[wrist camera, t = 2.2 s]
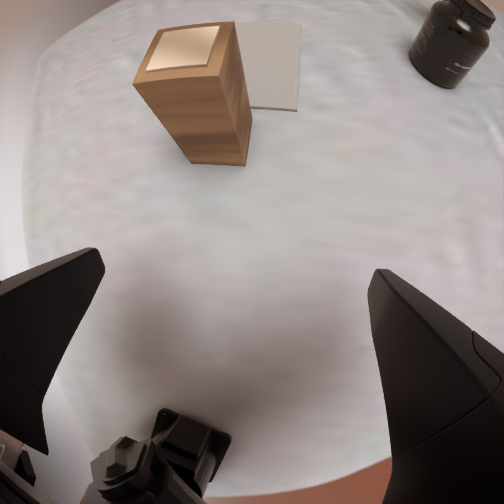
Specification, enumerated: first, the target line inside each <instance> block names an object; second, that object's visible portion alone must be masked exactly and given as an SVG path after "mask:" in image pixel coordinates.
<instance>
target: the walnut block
mask: <svg viewBox="0 0 504 504" xmlns="http://www.w3.org/2000/svg"><path fill="white" fill-rule="evenodd" d="M132 84H133V86H134V87H135V88H136V90H137V91H138V92H139V94H140V95H141V96H142V98H143V99H144V100H145V102H146V103H147V104H148V106H149V107H150V108H151V110H152V111H153V112H154V114H155V115H156V116H157V118H158V119H159V120H160V122H161V123H162V124H163V126H164V127H165V128H166V130H167V131H168V132H169V134H170V135H171V136H172V138H173V139H174V140H175V142H176V143H177V145H178V146H179V147H180V149H181V150H182V151H183V153H184V154H185V155H186V157H187V158H188V159H189V161H190V162H191V163H192V164H215V165H234V166H246V160H247V153H248V146H249V139H250V133H251V126H252V114H251V108H250V103H249V97H248V92H247V86H246V80H245V75H244V70H243V64H242V59H241V54H240V48H239V43H238V38H237V33H236V28H235V23H234V22H216V23H204V24H194V25H186V26H179V27H172V28H166V29H161V30H158V31H157V33H156V35H155V37H154V39H153V41H152V43H151V45H150V46H149V48H148V50H147V52H146V55H145V57H144V59H143V61H142V63H141V65H140V67H139V69H138V72H137V74H136V76H135V78H134V81H133V83H132Z"/></svg>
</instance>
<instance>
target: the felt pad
mask: <svg viewBox="0 0 504 504" xmlns="http://www.w3.org/2000/svg"><path fill="white" fill-rule="evenodd" d="M235 28H236V33H237V38H238V43H239V48H240V54H241V59H242V64H243V70H244V75H245V80H246V86H247V92H248V97H249V103H250V108H259V109H274V110H287V111H297V101H298V84H299V64H300V40H301V25H297V24H284V23H256V22H248V23H235Z"/></svg>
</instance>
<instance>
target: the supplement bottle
mask: <svg viewBox="0 0 504 504" xmlns="http://www.w3.org/2000/svg"><path fill="white" fill-rule="evenodd" d="M495 20H496V17H495V15H494V14H493V12H492V11H491V10H490V9H489V8H488V7H487V6H486V5H485V4H484V3H482V2H481V1H480V0H448V1H438V2H435V3H434V4H433V6H432V7H431V9H430V11H429V13H428V15H427V17H426V19H425V21H424V23H423V25H422V27H421V29H420V31H419V33H418V35H417V37H416V39H415V41H414V43H413V45H412V47H411V50H410V56H411V59H412V62H413V63H414V65H415V66H416V68H417V69H418V70H419V71H420V72H421V73H422V74H423V75H424V76H425V77H426V78H428V79H429V80H431V81H432V82H434V83H435V84H437V85H440V86H442V87H446V88H453V87H455V86H457V85H458V84H459V83H460V82H461V81H462V79H463V78H464V77H465V76H466V75H467V73H468V72H469V71H470V70H471V69H472V67H473V66H474V65H475V64H476V62H477V61H478V60H479V59H480V57H481V56H482V55H483V54H484V52H485V51H486V50H487V48H488V47H489V43H490V41H489V36H488V34H487V32H486V30H490V28H491V25H492V24H493V23H494V21H495Z"/></svg>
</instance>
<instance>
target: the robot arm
mask: <svg viewBox="0 0 504 504" xmlns="http://www.w3.org/2000/svg"><path fill="white" fill-rule="evenodd" d="M104 274H105V265H104V263H103V260H102V258H101V255H100V253H99V251H98V249H96V248H90V247H88V248H85V249H82V250H79V251H76V252H73V253H71V254H68V255H65V256H63V257H60V258H57V259H55V260H52V261H49V262H47V263H44V264H42V265H39V266H36V267H34V268H31V269H29V270H26V271H24V272H21V273H19V274H17V275H14V276H12V277H10V278H7V279H5V280H3V281H0V504H57V503H55V502H54V501H52V500H50V499H49V498H48V497H46V496H45V495H44V494H42V493H41V492H39V491H38V490H37V489H35V488H34V483H35V480H36V476H35V473H34V470H33V467H32V465H31V461H30V458H29V455H28V452H27V451H26V450H25V449H23V448H22V447H23V444H26V445H28V446H29V447H31V448H34V449H35V450H37V451H39V452H41V453H43V454H45V455H48V453H49V451H48V446H47V440H46V434H45V429H44V422H43V415H42V403H43V399H44V396H45V394H46V392H47V390H48V387H49V385H50V383H51V380H52V378H53V376H54V374H55V372H56V369H57V367H58V365H59V363H60V361H61V359H62V357H63V355H64V353H65V351H66V349H67V347H68V345H69V343H70V341H71V339H72V337H73V335H74V333H75V331H76V329H77V327H78V325H79V324H80V322H81V320H82V318H83V316H84V315H85V313H86V311H87V309H88V307H89V305H90V304H91V301H92V299H93V297H94V295H95V293H96V291H97V288H98V286H99V284H100V282H101V280H102V278H103V276H104ZM368 304H369V312H370V321H371V330H372V337H373V342H374V347H375V351H376V356H377V361H378V366H379V371H380V376H381V382H382V387H383V393H384V399H385V406H386V412H387V419H388V427H389V435H390V444H391V453H392V473H391V477H390V481H389V484H388V487H387V490H386V493H385V496H384V499H383V502H382V504H504V353H502V352H501V351H500V350H498V349H497V348H496V347H494V346H493V345H492V344H490V343H489V342H488V341H487V340H485V339H484V338H483V337H481V336H480V335H479V334H478V333H476V332H475V331H472V330H471V329H470V328H469V327H468V326H467V325H465V324H464V323H463V322H461V321H460V320H459V319H457V318H456V317H455V316H453V315H452V314H451V313H449V312H448V311H447V310H445V309H444V308H443V307H441V306H440V305H439V304H437V303H436V302H434V301H433V300H432V299H430V298H429V297H427V296H426V295H425V294H423V293H422V292H420V291H419V290H418V289H416V288H415V287H413V286H412V285H410V284H409V283H408V282H406V281H405V280H403V279H402V278H400V277H399V276H397V275H396V274H394V273H393V272H391V271H390V270H388V269H376V270H375V272H374V274H373V277H372V280H371V283H370V285H369V288H368ZM163 413H165V414H166V416H165V415H163ZM223 439H227V440H228V441H225V440H223ZM230 443H231V437H230V436H229V435H228V434H225V433H222V432H219V431H217V430H214V429H212V428H210V427H208V426H206V425H203V424H201V423H198V422H196V421H194V420H191V419H189V418H187V417H184V416H181V415H178V414H176V413H174V412H172V411H170V410H168V409H165V408H162V409H161V410H160V411H159V412H158V415H157V419H156V422H155V426H154V429H153V433H152V437H151V439H149V440H145V441H142V442H137V441H136V440H132V439H130V438H128V437H126V436H125V437H121V438H119V439H118V440H117V441H116V442H115V443H114V444H113V445H112V446H111V447H110V448H109V450H107V451H104V452H102V453H101V454H100V456H99V457H98V458H96V459H95V460H93V461H92V462H91V463H90V464H91V470H92V476H93V482H92V483H91V484H90V485H89V486H88V488H87V490H86V492H85V494H84V496H83V498H82V500H81V502H80V504H207V503H206V502H204V501H203V500H202V498H203V496H204V493H205V490H206V488H207V485H208V483H210V482H212V480H213V478H214V476H215V474H216V472H217V470H218V468H219V466H220V464H221V462H222V460H223V458H224V456H225V453H226V451H227V449H228V447H229V445H230Z"/></svg>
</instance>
